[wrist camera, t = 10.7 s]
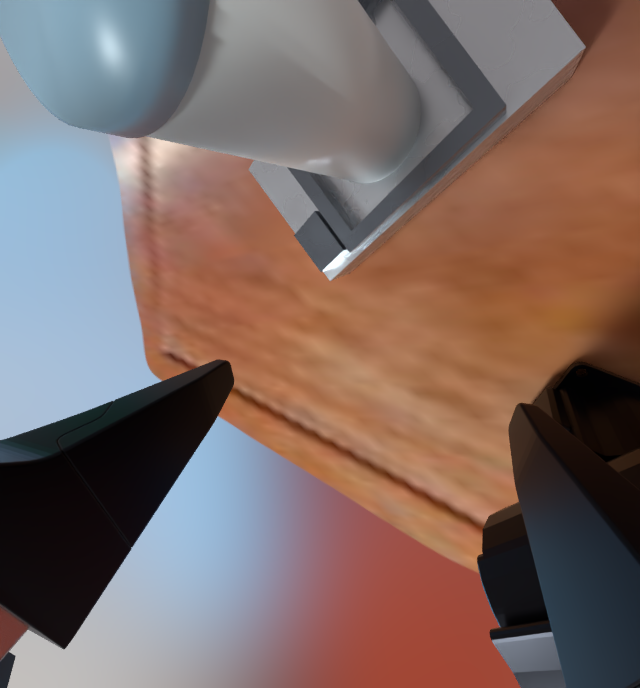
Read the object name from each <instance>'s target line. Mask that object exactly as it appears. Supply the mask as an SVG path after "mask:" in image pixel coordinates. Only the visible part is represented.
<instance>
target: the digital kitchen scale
mask: <svg viewBox="0 0 640 688" xmlns="http://www.w3.org/2000/svg"><path fill="white" fill-rule="evenodd" d="M358 1H359V3H360V4H361V6H362V7H363V9H364V10H365V12H366V13H367V14H368V16H369V17H370V19H371V20H372V22H373V23H374V25H375V26H376V27H377V29H378V30H379V32H380V33H381V35H382V36H383V38H384V39H385V40H386V42H387V43H388V45H389V46H390V48H391V49H392V51H393V52H394V53H395V55H396V56H397V58H398V59H399V61H400V62H401V64H402V65H403V66H404V68H405V69H406V71H407V72H408V74H409V75H410V77H411V78H412V80H413V81H414V83H415V85H416V88H417V90H418V94H419V97H420V105H421V118H420V125H419V131H418V134H417V137H416V140H415V143H414V145H413V147H412V149H411V151H410V153H409V155H408V156H407V157H406V159H405V160H404V162H403V163H402V164H401V165H400V166H399V167H398V168H397V169H396V170H395V171H394V172H393V173H391V174H390V175H389V176H387V177H385V178H383V179H381V180H379V181H376V182H372V183H358V182H354V181H349V180H345V179H340V178H335V177H331V176H326V175H322V174H317V173H312V172H308V171H303V170H299V169H294V168H289V167H285V166H280V165H276V164H271V163H266V162H262V161H257V160H254V161H253V163H252V165H251V166H250V168H249V171H250V172H251V173H252V175H253V176H254V177H255V179H256V180H257V182H258V183H259V184H260V186H261V187H262V188H263V190H264V191H265V192H266V194H267V195H268V197H269V198H270V199H271V201H272V202H273V203H274V205H275V206H276V208H277V209H278V210H279V212H280V213H281V214H282V216H283V217H284V218H285V220H286V221H287V223H288V224H289V225H290V227H291V228H292V229H293V231H294V232H295V235H294V236H295V237H296V239H297V240H298V241H299V243H300V244H301V245H302V247H303V248H304V250H305V251H306V252H307V254H308V255H309V256H310V258H311V259H312V260H313V262H314V263H315V265H316V266H317V267H318V269H319V270H320V271H321V272H324V273H325V275H326V276H327V277H328V279H329V280H330V281H332V280H334V279H337V278H339V277H342V276H345V275H347V274H350V273H351V272H352V271H353V270H354V269H355V268H357V267H358V266H359V265H360V264H361V263H362V262H363V261H364V260H366V259H367V258H368V257H369V256H370V255H371V254H372V253H374V252H375V251H376V250H377V249H378V248H379V247H380V246H381V245H383V244H384V243H385V242H386V241H387V240H388V239H389V238H390V237H392V236H393V235H394V234H395V233H396V232H397V231H398V230H400V229H401V228H402V227H403V226H404V225H405V224H406V223H407V222H409V221H410V220H411V219H412V218H413V217H414V216H415V215H416V214H418V213H419V212H420V211H421V210H422V209H423V208H424V207H426V206H427V205H428V204H429V203H430V202H431V201H432V200H433V199H435V198H436V197H437V196H438V195H439V194H440V193H441V192H442V191H444V190H445V189H446V188H447V187H448V186H449V185H450V184H452V183H453V182H454V181H455V180H456V179H457V178H458V177H459V176H461V175H462V174H463V173H464V172H465V171H466V170H467V169H468V168H470V167H471V166H472V165H473V164H474V163H475V162H476V161H478V160H479V159H480V158H481V157H482V156H483V155H484V154H485V153H487V152H488V151H489V150H490V149H491V148H492V147H493V146H494V145H496V144H497V143H498V142H499V141H500V140H501V139H502V138H504V137H505V136H506V135H507V134H508V133H509V132H510V131H511V130H513V129H514V128H515V127H516V126H517V125H518V124H519V123H520V122H522V121H523V120H524V119H525V118H526V117H527V116H528V115H530V114H531V113H532V112H533V111H534V110H535V109H536V108H537V107H539V106H540V105H541V104H542V103H543V102H544V101H545V100H546V99H548V98H549V97H550V96H551V95H552V94H553V93H554V92H556V91H557V90H558V89H559V88H560V87H561V86H562V85H563V84H565V83H566V82H567V81H568V80H569V79H570V78H571V77H572V75H573V73H574V71H575V69H576V67H577V65H578V63H579V61H580V58H581V56H582V54H583V52H584V50H585V48H586V46H585V45H584V44H583V42H582V41H581V40H580V39H579V37H578V36H577V35H576V33H575V32H574V31H573V29H572V28H571V27H570V25H569V24H568V23H567V21H566V20H565V19H564V17H563V16H562V15H561V13H560V12H559V11H558V9H557V8H556V7H555V5H554V4H553V3H552V1H551V0H358Z"/></svg>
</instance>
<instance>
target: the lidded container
mask: <svg viewBox="0 0 640 688" xmlns="http://www.w3.org/2000/svg"><path fill="white" fill-rule="evenodd" d="M0 37H1V39H2V41H3V43H4V45H5V47H6V49H7V51H8V53H9V55H10V57H11V59H12V61H13V63H14V64H15V66H16V68H17V70H18V72H19V73H20V75H21V77H22V78H23V79H24V81H25V82H26V84H27V86H28V87H29V89H30V90H31V91H32V93H33V94H34V95H35V96H36V98H37V99H38V100H39V101H40V103H41V104H43V106H44V107H45V108H46V109H47V110H48V111H49V112H50V113H52V114H53V115H54V116H55V117H57V118H58V119H59V120H61V121H63V122H65V123H66V124H68V125H71V126H74V127H78V128H82V129H87V130H92V131H97V132H102V133H107V134H111V135H116V136H121V137H126V138H140V137H144V136H147V137H152V138H156V139H161V140H165V141H170V142H175V143H179V144H184V145H188V146H193V147H198V148H202V149H207V150H211V151H216V152H221V153H225V154H230V155H234V156H239V157H244V158H248V159H253V160H257V161H262V162H266V163H271V164H276V165H280V166H285V167H289V168H294V169H299V170H303V171H308V172H312V173H317V174H322V175H326V176H331V177H335V178H340V179H345V180H349V181H354V182H358V183H372V182H376V181H379V180H381V179H383V178H385V177H387V176H389V175H390V174H391V173H393V172H394V171H395V170H396V169H397V168H398V167H399V166H400V165H401V164H402V163H403V162H404V160H405V159H406V157H407V156H408V155H409V153H410V151H411V149H412V147H413V145H414V143H415V140H416V137H417V134H418V131H419V125H420V118H421V105H420V97H419V94H418V90H417V88H416V85H415V83H414V81H413V80H412V78H411V77H410V75H409V74H408V72H407V71H406V69H405V68H404V66H403V65H402V64H401V62H400V61H399V59H398V58H397V56H396V55H395V53H394V52H393V51H392V49H391V48H390V46H389V45H388V43H387V42H386V40H385V39H384V38H383V36H382V35H381V33H380V32H379V30H378V29H377V27H376V26H375V25H374V23H373V22H372V20H371V19H370V17H369V16H368V14H367V13H366V12H365V10H364V9H363V7H362V6H361V4H360V3H359V1H358V0H0Z"/></svg>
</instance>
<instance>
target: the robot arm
mask: <svg viewBox="0 0 640 688" xmlns="http://www.w3.org/2000/svg"><path fill="white" fill-rule="evenodd" d="M578 369H585V370H586V372H585V373H584V374H577V373H576V371H577V370H578ZM233 385H234V377H233V373H232V368H231V365H230V363H229V362H228V361H226V360H215V361H212V362H210V363H207V364H205V365H202V366H200V367H197V368H195V369H192V370H190V371H187V372H185V373H182V374H180V375H177V376H174V377H172V378H169V379H167V380H164V381H162V382H159V383H157V384H154V385H152V386H149V387H147V388H144V389H142V390H139V391H137V392H134V393H131V394H129V395H126V396H124V397H121V398H119V399H116V400H115V401H111V402H108V403H106V404H103V405H101V406H98V407H96V408H93V409H91V410H88V411H85V412H83V413H80V414H77V415H74V416H71V417H69V418H66V419H63V420H60V421H57V422H55V423H51V424H49V425H46V426H43V427H40V428H37V429H34V430H31V431H29V432H26V433H22V434H19V435H16V436H14V437H10V438H7V439H4V440H0V688H7V686H8V682H9V679H10V675H11V671H12V667H13V664H14V660H15V655H13V654H11V653H10V652H9V651H10V650H11V649H12V647H13V646H14V645H15V644H16V643H17V642H18V640H19V639H20V638H21V637H22V636H23V634H24V633H25V632H26V631H27V630H30V631H32V632H34V633H35V634H37V635H39V636H41V637H43V638H44V639H46V640H48V641H50V642H51V643H53V644H55V645H57V646H58V647H60V648H62V649H65V648H66V647H67V646H68V644H69V643H70V642H71V640H72V639H73V637H74V636H75V634H76V633H77V631H78V630H79V628H80V627H81V625H82V624H83V622H84V621H85V619H86V618H87V616H88V615H89V613H90V611H91V610H92V608H93V607H94V605H95V604H96V602H97V601H98V599H99V598H100V596H101V595H102V593H103V592H104V590H105V589H106V587H107V585H108V584H109V582H110V581H111V579H112V578H113V576H114V575H115V573H116V572H117V570H118V569H119V567H120V565H121V564H122V563H123V561H124V559H125V558H126V556H127V555H128V553H129V552H130V550H131V547H133V545H134V544H135V542H136V541H137V539H138V538H139V536H140V535H141V533H142V532H143V530H144V529H145V527H146V526H147V524H148V523H149V521H150V520H151V518H152V517H153V515H154V513H155V512H156V510H157V509H158V507H159V506H160V504H161V503H162V501H163V500H164V498H165V497H166V495H167V494H168V492H169V490H170V489H171V487H172V486H173V484H174V483H175V481H176V480H177V478H178V477H179V475H180V474H181V472H182V471H183V469H184V468H185V466H186V465H187V463H188V462H189V460H190V459H191V457H192V455H193V454H194V452H195V451H196V449H197V448H198V446H199V445H200V443H201V441H202V440H203V439H204V437H205V436H206V434H207V433H208V431H209V430H210V428H211V426H212V425H213V423H214V422H215V420H216V418H217V416H218V414H219V413H220V411H221V409H222V407H223V405H224V403H225V401H226V399H227V397H228V395H229V393H230V391H231V389H232V387H233ZM509 440H510V448H511V456H512V465H513V473H514V480H515V486H516V491H517V495H518V499H519V502H517V503H515V504H513V505H511V506H508V507H506V508H504V509H502V510H499V511H498V512H496V513H494V514H492V515H490V516H489V517H488V519H487V521H486V523H485V526H484V528H483V544H482V552H483V554H481V555H479V556H478V557H477V563H478V569H479V573H480V577H481V581H482V585H483V588H484V591H485V593H486V596H487V599H488V602H489V604H490V607H491V610H492V612H493V614H494V616H495V618H496V619H497V622H498V624H499V626H500V628H494V629H491V630H490V637H491V640H492V642H493V643H494V645H495V646H496V648H497V649H498V651H499V652H500V654H501V655H502V657H503V658H504V660H505V661H506V662H507V664H508V666H509V667H510V669H511V670H512V672H513V673H514V675H515V677H516V679H517V681H518V683H519V685H520V687H521V688H640V383H637V382H635V381H632V380H629V379H627V378H624V377H622V376H619V375H617V374H614V373H611V372H609V371H606V370H604V369H601V368H598V367H596V366H593V365H591V364H588V363H585V362H576V363H574V364H572V365H571V366H570V367H569V368H568V370H567V371H566V372H565V373H564V375H563V376H562V377H561V378H560V380H559V381H558V382H557V383H556V385H555V386H554V387H553V388H552V387H550V388H546V389H545V390H544V391H543V392H542V394H541V395H540V396H539V398H538V399H537V400H536V401H535V403H534V404H526V403H519V404H518V405H517V406H516V408H515V411H514V413H513V416H512V419H511V422H510V424H509Z"/></svg>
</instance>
